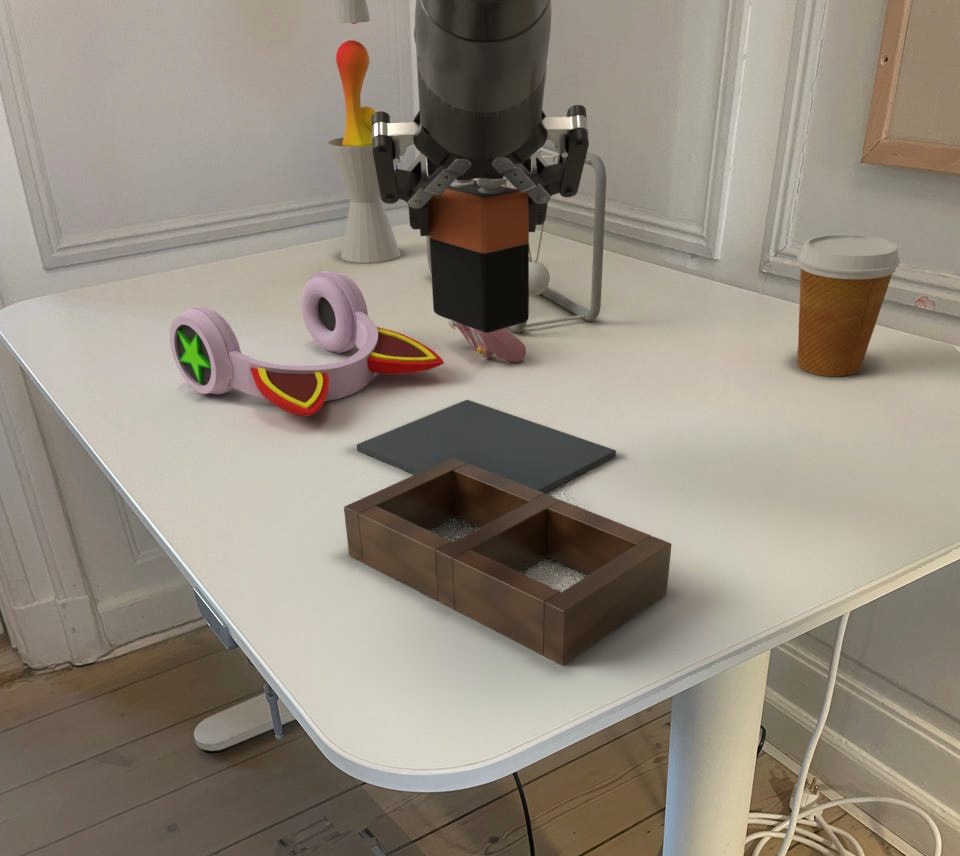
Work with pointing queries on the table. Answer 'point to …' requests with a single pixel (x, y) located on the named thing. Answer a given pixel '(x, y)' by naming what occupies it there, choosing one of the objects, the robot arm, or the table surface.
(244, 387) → the headphones
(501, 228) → the battery
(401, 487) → the tray
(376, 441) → the mat
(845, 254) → the disposable coffee cup
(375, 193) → the lava lamp
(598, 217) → the newton's cradle
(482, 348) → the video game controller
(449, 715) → the table surface
